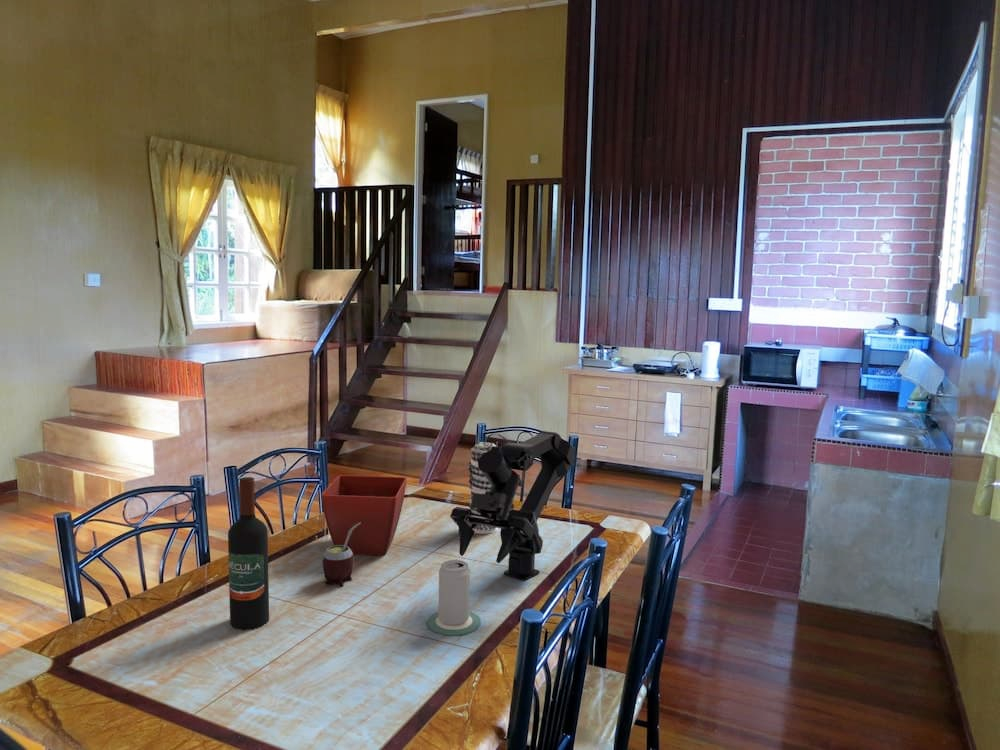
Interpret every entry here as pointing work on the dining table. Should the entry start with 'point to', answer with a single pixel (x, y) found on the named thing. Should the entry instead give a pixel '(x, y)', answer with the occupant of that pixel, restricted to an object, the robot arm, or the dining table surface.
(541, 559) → the dining table surface
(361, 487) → the plant pot
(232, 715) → the dining table surface
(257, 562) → the wine bottle
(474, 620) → the coaster
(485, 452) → the robot arm
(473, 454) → the decorative candle
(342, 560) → the mate gourd
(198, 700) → the dining table surface
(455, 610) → the beverage can
